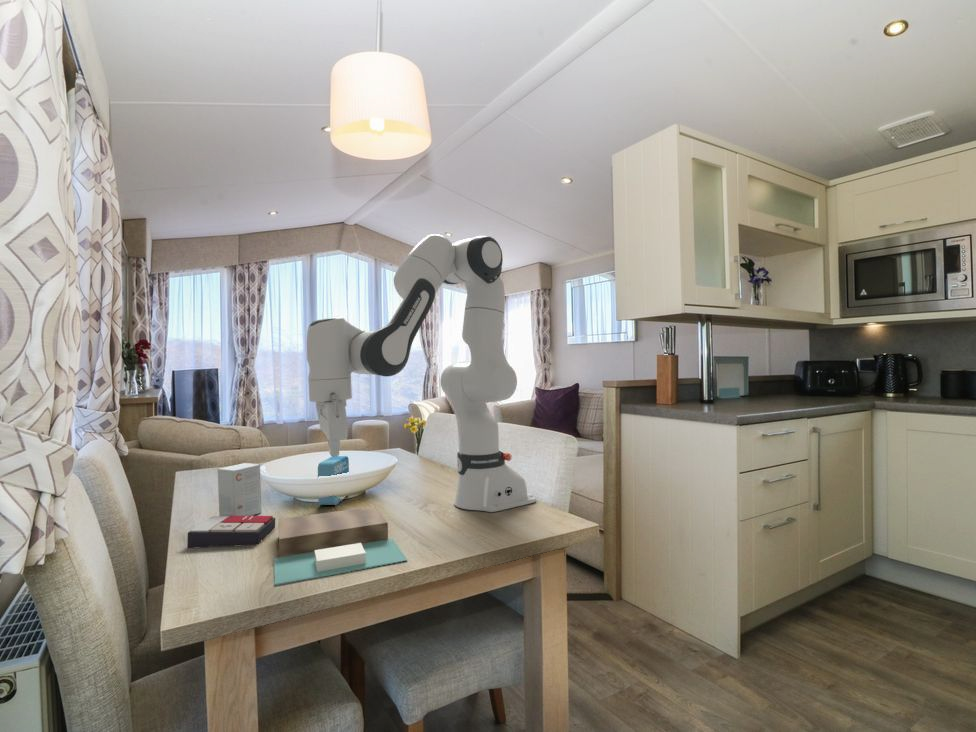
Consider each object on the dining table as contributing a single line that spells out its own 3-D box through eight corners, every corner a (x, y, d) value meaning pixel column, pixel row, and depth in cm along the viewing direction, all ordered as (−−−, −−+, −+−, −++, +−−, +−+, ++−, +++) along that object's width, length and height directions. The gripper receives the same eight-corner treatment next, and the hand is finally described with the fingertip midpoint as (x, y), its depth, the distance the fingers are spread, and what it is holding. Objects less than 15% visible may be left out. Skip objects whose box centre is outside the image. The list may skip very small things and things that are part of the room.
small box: (246, 510, 134) (244, 462, 134) (262, 513, 132) (260, 464, 131) (218, 519, 127) (216, 468, 127) (234, 522, 124) (233, 470, 124)
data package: (334, 507, 136) (333, 463, 135) (318, 507, 136) (317, 463, 136) (349, 495, 148) (348, 455, 147) (335, 495, 148) (334, 455, 148)
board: (375, 522, 122) (375, 506, 122) (388, 540, 109) (387, 522, 109) (278, 536, 113) (278, 519, 113) (279, 558, 100) (279, 539, 100)
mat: (392, 539, 109) (392, 538, 109) (407, 561, 97) (407, 559, 97) (274, 559, 100) (274, 558, 100) (274, 585, 88) (274, 584, 88)
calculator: (258, 529, 108) (186, 529, 107) (257, 549, 108) (186, 549, 107) (276, 514, 119) (211, 513, 118) (275, 532, 119) (211, 531, 118)
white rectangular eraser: (365, 552, 96) (366, 563, 96) (360, 542, 102) (361, 552, 102) (316, 561, 92) (317, 571, 92) (314, 550, 98) (314, 560, 98)
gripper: (353, 393, 99) (356, 462, 99) (339, 388, 118) (342, 446, 118) (319, 396, 96) (324, 466, 97) (311, 390, 115) (315, 449, 116)
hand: (334, 455), depth 108 cm, fingers closed
